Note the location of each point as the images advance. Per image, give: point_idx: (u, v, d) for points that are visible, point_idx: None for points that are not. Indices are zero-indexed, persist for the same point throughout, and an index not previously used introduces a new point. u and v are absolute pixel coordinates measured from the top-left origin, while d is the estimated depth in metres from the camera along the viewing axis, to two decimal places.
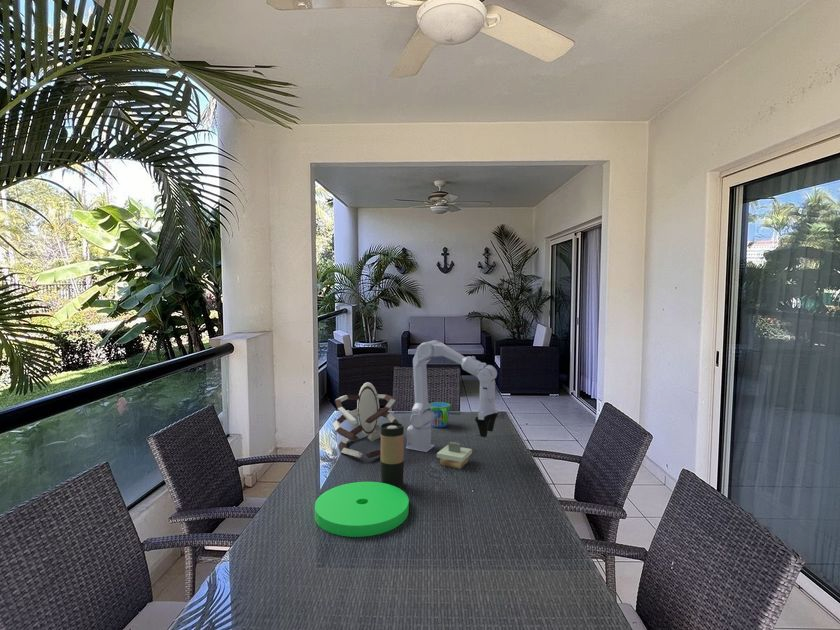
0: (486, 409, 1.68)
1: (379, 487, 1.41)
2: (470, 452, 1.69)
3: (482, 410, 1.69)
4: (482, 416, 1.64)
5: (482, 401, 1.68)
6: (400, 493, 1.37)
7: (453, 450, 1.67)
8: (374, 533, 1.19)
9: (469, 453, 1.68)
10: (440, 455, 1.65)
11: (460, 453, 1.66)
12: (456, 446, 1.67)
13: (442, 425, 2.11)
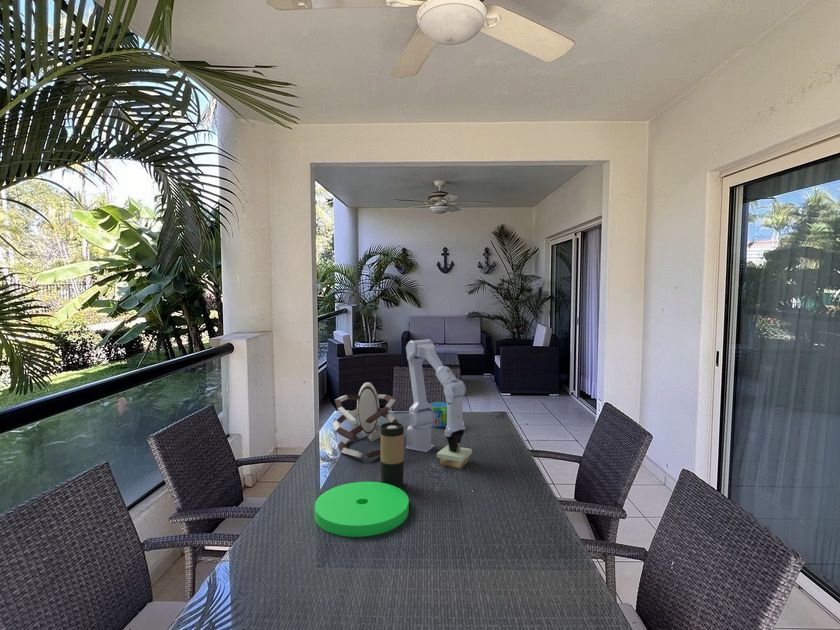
0: (453, 425, 1.65)
1: (379, 487, 1.41)
2: (470, 452, 1.69)
3: (449, 426, 1.65)
4: (448, 433, 1.61)
5: (449, 417, 1.65)
6: (400, 493, 1.37)
7: None
8: (374, 533, 1.19)
9: (469, 453, 1.68)
10: (440, 455, 1.65)
11: (460, 453, 1.66)
12: None
13: (442, 425, 2.11)
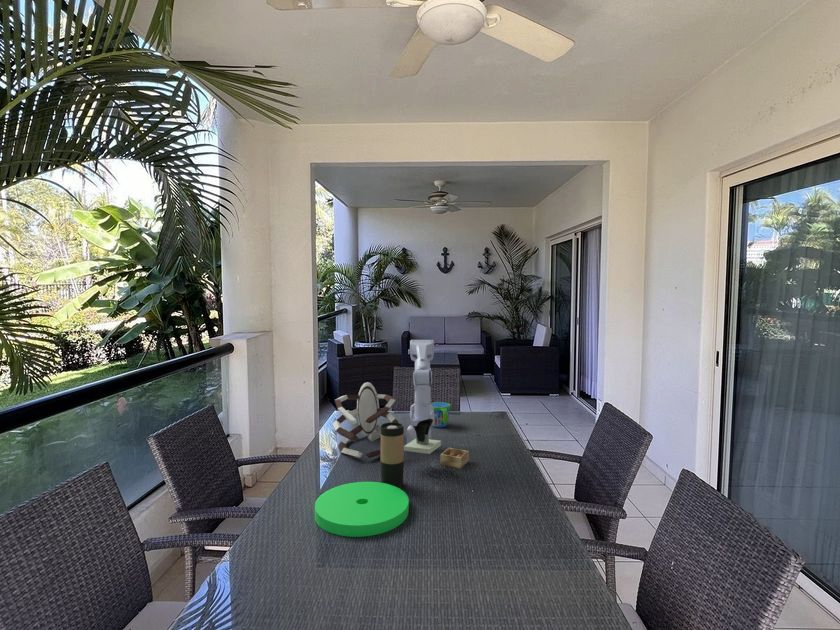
0: (420, 414, 1.59)
1: (379, 487, 1.41)
2: (439, 444, 1.63)
3: (416, 415, 1.60)
4: (415, 422, 1.55)
5: (416, 406, 1.60)
6: (400, 493, 1.37)
7: (421, 442, 1.62)
8: (374, 533, 1.19)
9: (438, 445, 1.62)
10: (407, 448, 1.59)
11: (428, 445, 1.60)
12: None
13: (442, 425, 2.11)
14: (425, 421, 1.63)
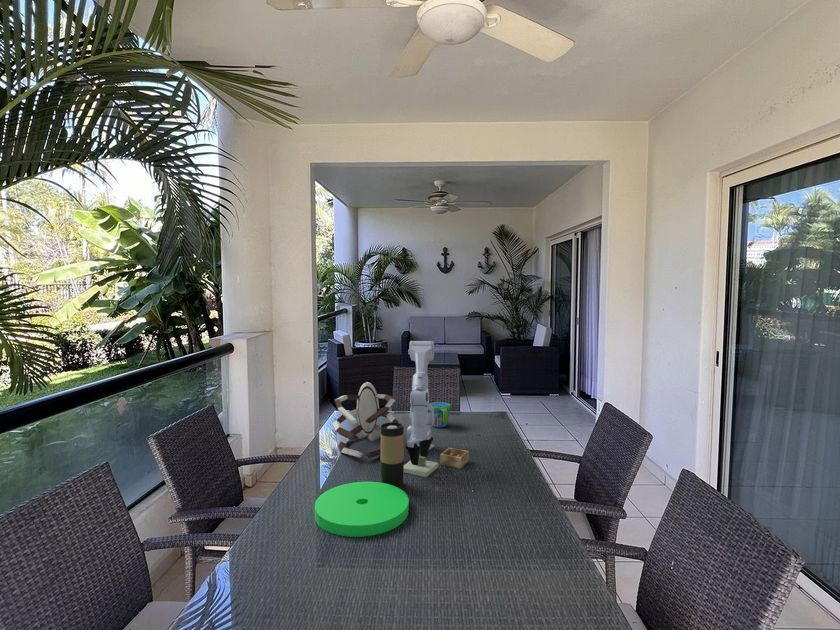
0: (417, 435, 1.59)
1: (379, 487, 1.41)
2: (436, 466, 1.63)
3: (413, 436, 1.60)
4: (411, 443, 1.55)
5: (413, 427, 1.60)
6: (400, 493, 1.37)
7: (418, 464, 1.62)
8: (374, 533, 1.19)
9: (435, 467, 1.62)
10: (404, 469, 1.60)
11: (425, 467, 1.60)
12: (421, 460, 1.61)
13: (442, 425, 2.11)
14: (425, 439, 1.65)
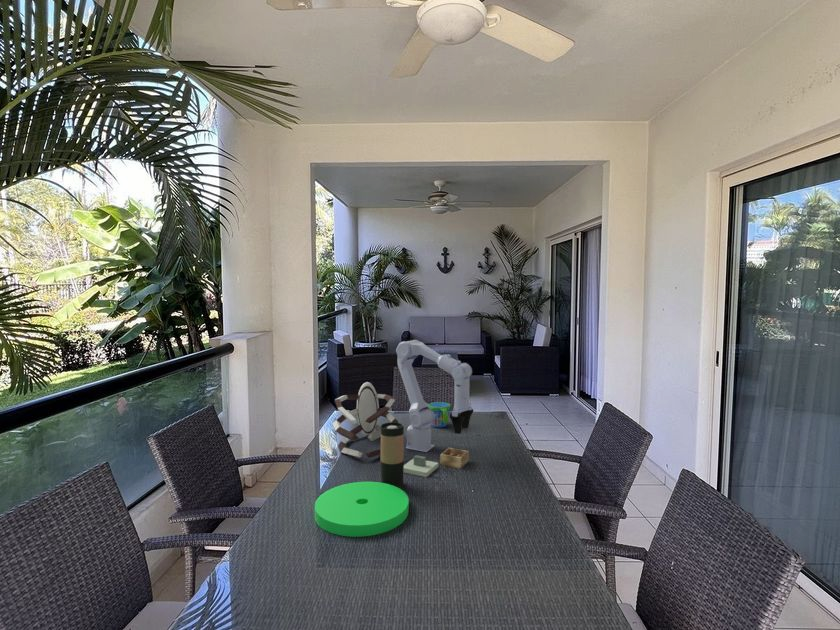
0: (460, 406, 1.71)
1: (379, 487, 1.41)
2: (436, 466, 1.63)
3: (456, 407, 1.71)
4: (456, 413, 1.67)
5: (456, 398, 1.71)
6: (400, 493, 1.37)
7: (418, 464, 1.62)
8: (373, 533, 1.19)
9: (435, 467, 1.62)
10: (404, 469, 1.60)
11: (425, 467, 1.60)
12: (421, 460, 1.61)
13: (442, 425, 2.11)
14: (466, 411, 1.77)
